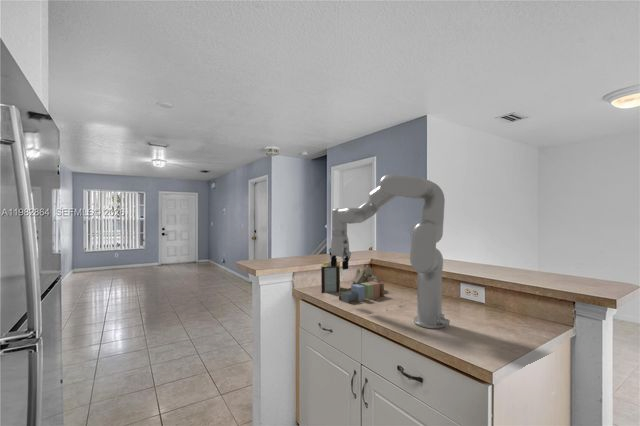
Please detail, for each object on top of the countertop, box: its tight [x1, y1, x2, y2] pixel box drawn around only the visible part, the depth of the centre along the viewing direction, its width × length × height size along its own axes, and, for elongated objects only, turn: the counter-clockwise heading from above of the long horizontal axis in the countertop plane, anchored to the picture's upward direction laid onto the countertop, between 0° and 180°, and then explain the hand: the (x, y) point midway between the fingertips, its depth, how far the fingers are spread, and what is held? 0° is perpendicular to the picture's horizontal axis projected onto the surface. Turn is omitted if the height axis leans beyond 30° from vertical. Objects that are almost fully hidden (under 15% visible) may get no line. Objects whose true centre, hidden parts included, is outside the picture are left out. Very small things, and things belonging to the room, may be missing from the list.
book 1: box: [350, 284, 365, 301], centre depth 159 cm, size 6×4×7 cm, turn 33°
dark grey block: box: [340, 290, 358, 304], centre depth 156 cm, size 6×6×4 cm
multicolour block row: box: [338, 281, 385, 305], centre depth 160 cm, size 9×23×8 cm, turn 124°
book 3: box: [367, 281, 380, 299], centre depth 165 cm, size 6×4×7 cm, turn 34°
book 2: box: [361, 283, 374, 299], centre depth 163 cm, size 6×4×7 cm, turn 34°
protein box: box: [320, 261, 341, 294], centre depth 181 cm, size 10×15×16 cm
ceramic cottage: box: [351, 264, 382, 285], centre depth 178 cm, size 16×16×15 cm
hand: (339, 267), depth 153 cm, fingers open, 9 cm apart
